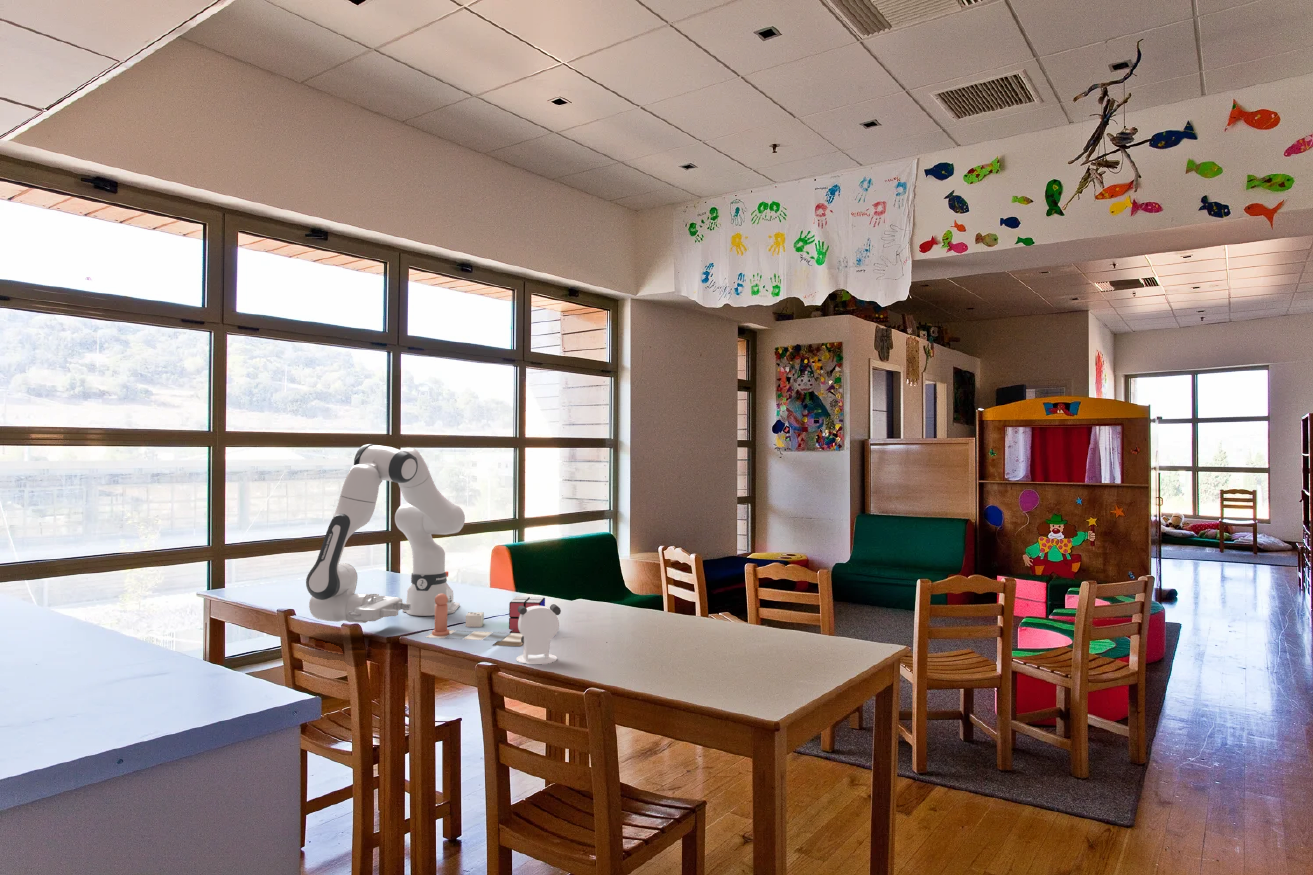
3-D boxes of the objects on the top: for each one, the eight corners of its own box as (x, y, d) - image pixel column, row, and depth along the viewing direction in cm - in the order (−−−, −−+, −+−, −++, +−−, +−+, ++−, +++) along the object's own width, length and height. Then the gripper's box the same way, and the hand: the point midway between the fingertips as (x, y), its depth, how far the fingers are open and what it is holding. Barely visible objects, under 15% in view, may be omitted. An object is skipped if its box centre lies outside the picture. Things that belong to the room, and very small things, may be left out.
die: (468, 627, 265) (468, 612, 265) (483, 627, 265) (483, 612, 265) (465, 630, 260) (465, 615, 260) (481, 630, 260) (481, 615, 260)
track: (438, 633, 255) (438, 629, 255) (530, 637, 252) (530, 633, 252) (424, 641, 244) (424, 637, 244) (520, 646, 241) (520, 641, 241)
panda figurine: (553, 652, 234) (554, 601, 234) (563, 662, 223) (564, 608, 224) (512, 655, 230) (513, 603, 230) (520, 666, 219) (521, 611, 219)
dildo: (435, 631, 252) (436, 591, 253) (451, 632, 252) (452, 592, 252) (429, 635, 247) (430, 594, 247) (445, 636, 247) (446, 595, 247)
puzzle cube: (539, 633, 258) (540, 602, 258) (508, 633, 258) (509, 601, 258) (544, 626, 268) (545, 596, 268) (514, 626, 268) (515, 596, 268)
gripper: (345, 604, 242) (389, 606, 241) (376, 592, 263) (417, 594, 261) (344, 625, 242) (388, 627, 241) (376, 612, 262) (416, 613, 261)
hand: (403, 609), depth 251 cm, fingers open, 8 cm apart
